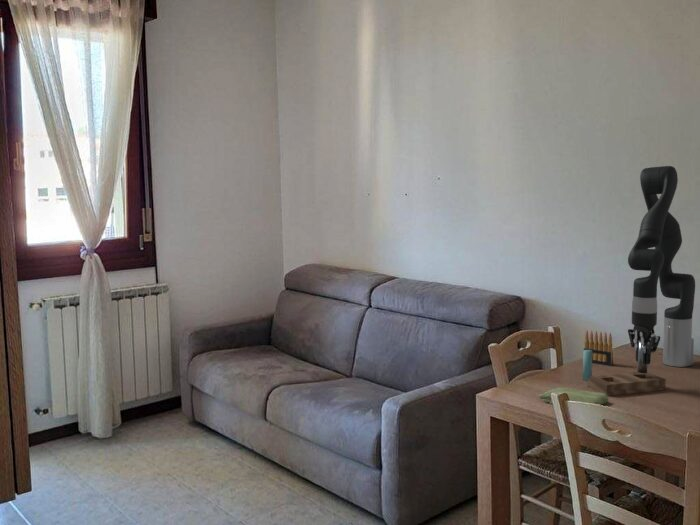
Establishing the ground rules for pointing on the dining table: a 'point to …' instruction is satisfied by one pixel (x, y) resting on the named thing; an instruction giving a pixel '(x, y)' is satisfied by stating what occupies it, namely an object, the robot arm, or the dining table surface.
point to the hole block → (626, 383)
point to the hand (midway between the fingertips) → (642, 362)
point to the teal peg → (587, 364)
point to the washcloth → (577, 395)
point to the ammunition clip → (599, 348)
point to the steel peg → (641, 359)
